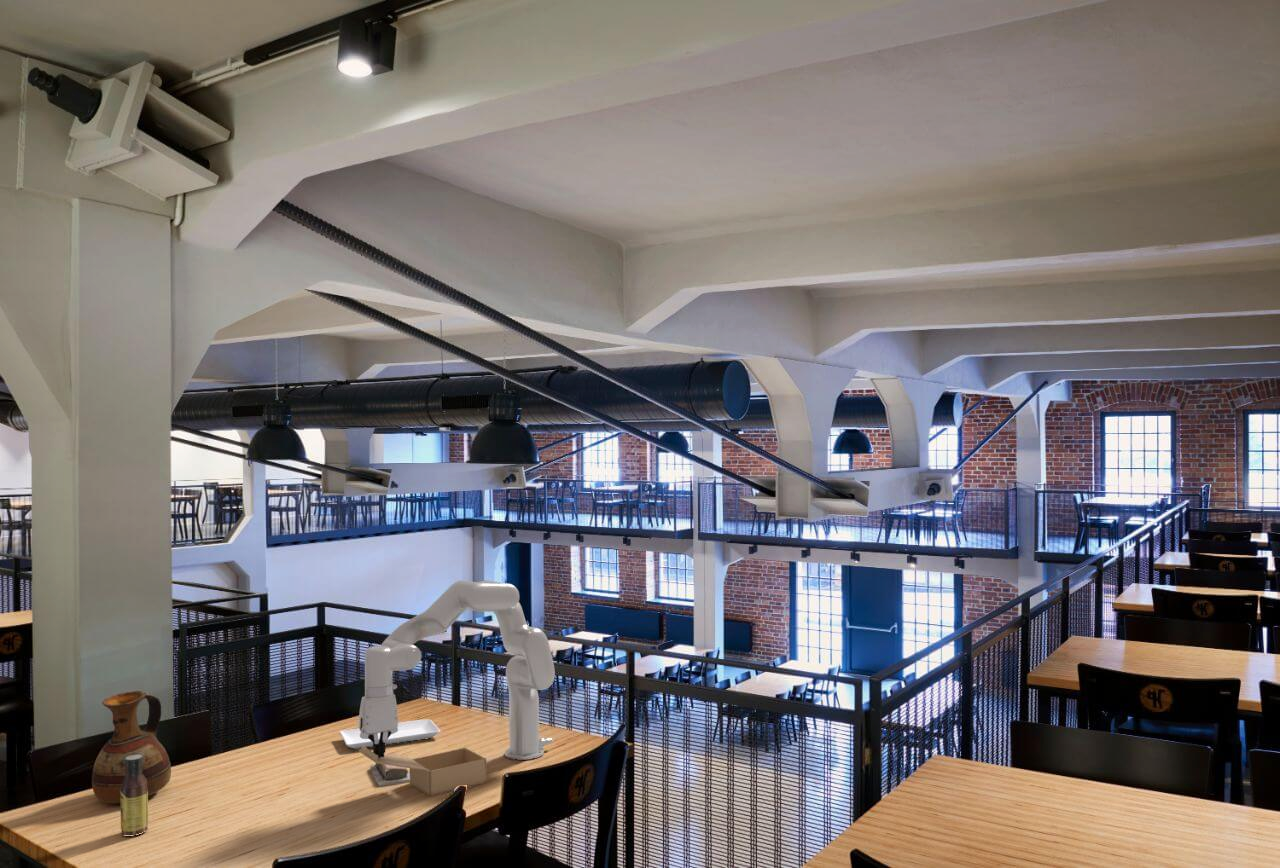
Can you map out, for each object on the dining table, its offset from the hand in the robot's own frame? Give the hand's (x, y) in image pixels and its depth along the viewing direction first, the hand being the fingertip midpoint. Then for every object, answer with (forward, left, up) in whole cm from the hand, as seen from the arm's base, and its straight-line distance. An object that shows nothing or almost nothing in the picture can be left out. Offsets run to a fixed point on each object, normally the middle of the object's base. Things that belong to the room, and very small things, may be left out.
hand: (379, 756), depth 263 cm
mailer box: (-21, 0, -12) cm, 24 cm away
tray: (-24, -52, -13) cm, 59 cm away
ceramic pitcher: (+55, -48, -12) cm, 74 cm away
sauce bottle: (+59, -17, -12) cm, 63 cm away
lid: (-4, 0, 0) cm, 4 cm away
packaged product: (-10, -18, -13) cm, 24 cm away
